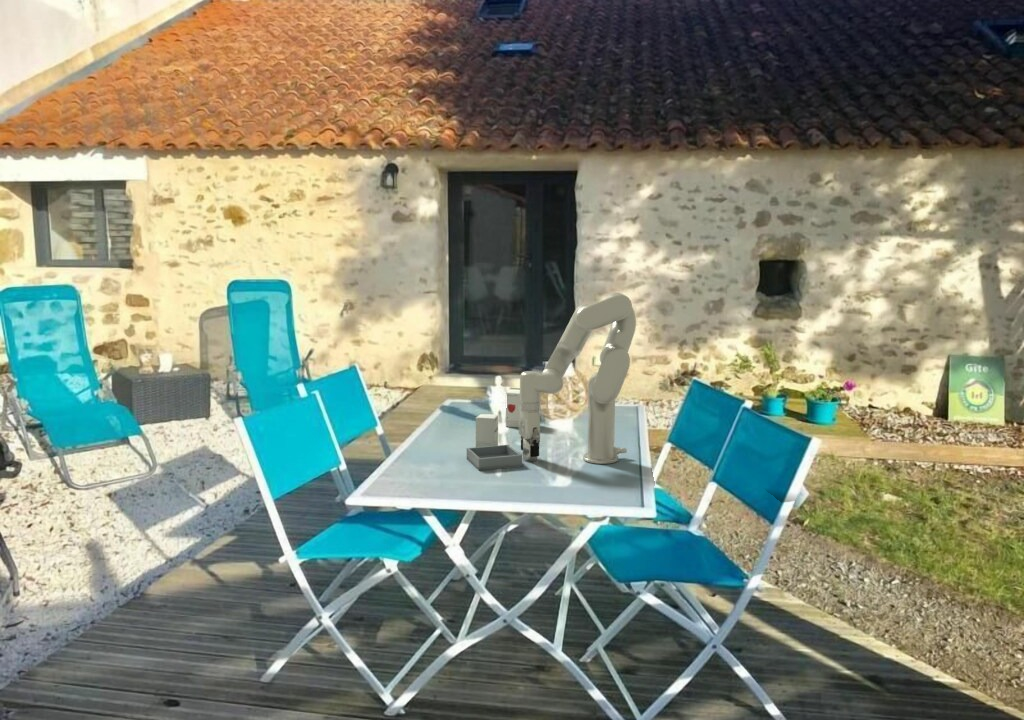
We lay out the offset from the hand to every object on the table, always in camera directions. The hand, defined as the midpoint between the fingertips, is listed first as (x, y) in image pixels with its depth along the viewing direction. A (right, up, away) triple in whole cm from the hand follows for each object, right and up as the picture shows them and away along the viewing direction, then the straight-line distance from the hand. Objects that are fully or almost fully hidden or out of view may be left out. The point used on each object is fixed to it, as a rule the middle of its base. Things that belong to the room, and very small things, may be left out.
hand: (529, 453), depth 274 cm
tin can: (0, -2, 0) cm, 3 cm away
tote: (-13, -3, -4) cm, 14 cm away
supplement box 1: (-16, 0, +16) cm, 22 cm away
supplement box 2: (-4, +5, +54) cm, 55 cm away
